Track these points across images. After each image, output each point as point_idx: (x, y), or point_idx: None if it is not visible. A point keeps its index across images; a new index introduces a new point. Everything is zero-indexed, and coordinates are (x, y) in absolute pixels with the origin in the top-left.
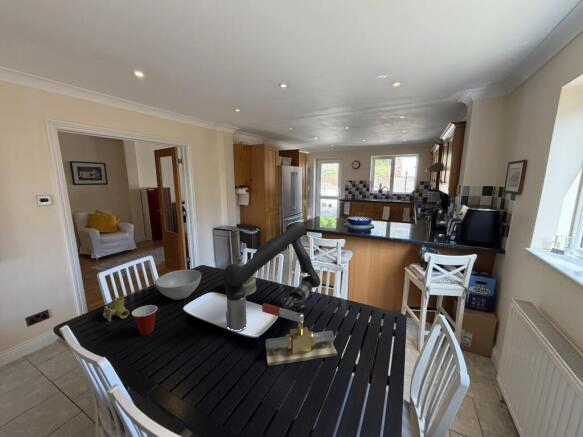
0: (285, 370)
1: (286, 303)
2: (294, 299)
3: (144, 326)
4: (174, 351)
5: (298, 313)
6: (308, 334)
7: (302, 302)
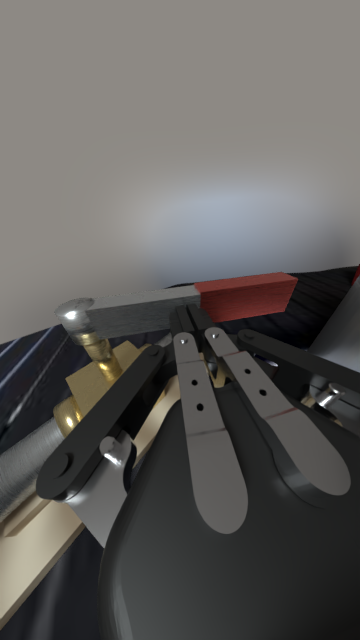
0: (140, 345)
1: (226, 340)
2: (213, 431)
3: (358, 269)
4: (292, 292)
5: (89, 306)
6: (77, 385)
7: (71, 484)
